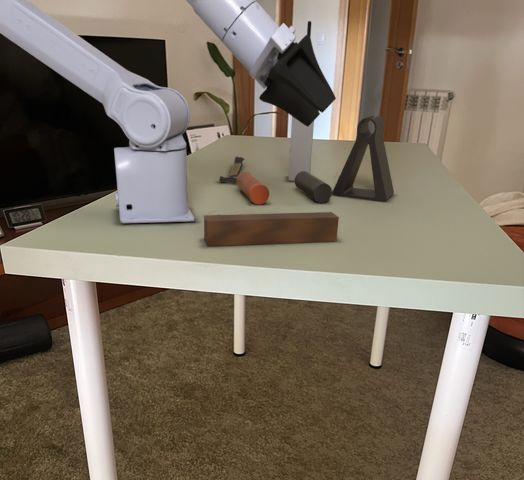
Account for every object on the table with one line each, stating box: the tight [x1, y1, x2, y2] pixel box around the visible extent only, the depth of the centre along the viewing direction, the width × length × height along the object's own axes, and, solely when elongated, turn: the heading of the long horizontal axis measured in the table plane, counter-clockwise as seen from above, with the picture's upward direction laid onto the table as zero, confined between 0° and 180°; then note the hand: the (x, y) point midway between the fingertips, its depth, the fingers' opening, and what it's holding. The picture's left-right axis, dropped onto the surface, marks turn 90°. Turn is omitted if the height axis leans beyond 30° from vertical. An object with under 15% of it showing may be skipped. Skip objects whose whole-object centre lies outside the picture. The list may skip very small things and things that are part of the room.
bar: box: [203, 211, 340, 247], centre depth 67 cm, size 16×2×3 cm, turn 104°
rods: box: [235, 171, 333, 206], centre depth 88 cm, size 13×10×3 cm
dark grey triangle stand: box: [332, 115, 395, 203], centre depth 89 cm, size 9×6×12 cm, turn 66°
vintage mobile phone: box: [288, 20, 315, 183], centre depth 96 cm, size 4×5×25 cm
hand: (321, 113), depth 67 cm, fingers open, 7 cm apart
